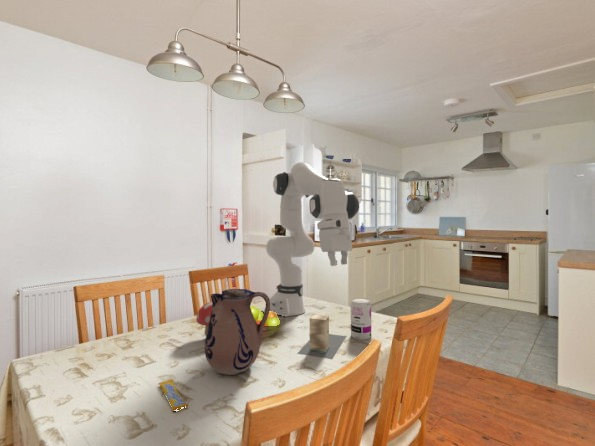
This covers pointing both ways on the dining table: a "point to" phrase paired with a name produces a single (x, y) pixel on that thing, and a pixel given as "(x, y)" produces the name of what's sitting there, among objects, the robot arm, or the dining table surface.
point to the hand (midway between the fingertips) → (339, 265)
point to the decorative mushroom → (204, 315)
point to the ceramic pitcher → (234, 331)
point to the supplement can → (361, 319)
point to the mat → (334, 345)
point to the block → (319, 333)
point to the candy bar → (172, 394)
